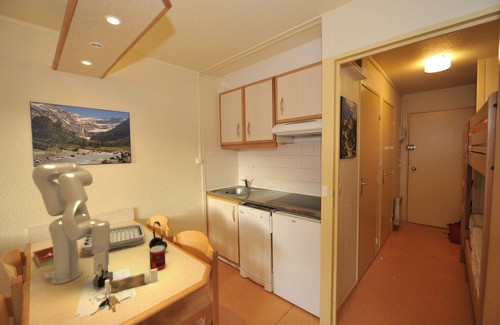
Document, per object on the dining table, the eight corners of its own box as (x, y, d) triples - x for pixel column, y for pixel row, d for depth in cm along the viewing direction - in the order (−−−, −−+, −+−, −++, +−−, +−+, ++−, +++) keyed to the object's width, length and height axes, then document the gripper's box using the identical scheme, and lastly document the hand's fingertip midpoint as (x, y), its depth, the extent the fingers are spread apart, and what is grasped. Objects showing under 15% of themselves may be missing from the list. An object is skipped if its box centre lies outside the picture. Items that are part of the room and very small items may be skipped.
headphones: (155, 258, 128) (154, 226, 127) (147, 250, 138) (146, 220, 137) (169, 253, 134) (168, 222, 133) (160, 246, 144) (159, 217, 143)
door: (110, 294, 96) (110, 283, 95) (111, 291, 98) (110, 281, 98) (144, 285, 102) (144, 275, 101) (145, 282, 104) (144, 273, 104)
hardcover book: (58, 250, 141) (58, 244, 141) (66, 260, 128) (66, 253, 128) (33, 258, 132) (32, 251, 131) (39, 269, 119) (38, 261, 119)
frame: (105, 295, 95) (104, 282, 95) (106, 292, 97) (105, 279, 97) (157, 281, 105) (157, 269, 105) (157, 279, 107) (157, 268, 106)
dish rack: (146, 245, 146) (146, 234, 146) (79, 261, 127) (78, 248, 126) (142, 231, 173) (141, 222, 173) (85, 242, 154) (85, 231, 153)
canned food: (154, 264, 122) (153, 245, 121) (167, 264, 121) (167, 245, 121) (147, 271, 114) (146, 251, 113) (161, 271, 114) (161, 251, 113)
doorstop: (93, 288, 101) (92, 279, 100) (96, 282, 105) (96, 274, 105) (110, 284, 103) (109, 276, 103) (113, 278, 108) (112, 271, 108)
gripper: (96, 241, 109) (98, 275, 110) (87, 256, 94) (89, 295, 95) (113, 238, 113) (114, 271, 114) (107, 252, 97) (109, 290, 98)
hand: (103, 282), depth 104 cm, fingers closed on doorstop, 5 cm apart
